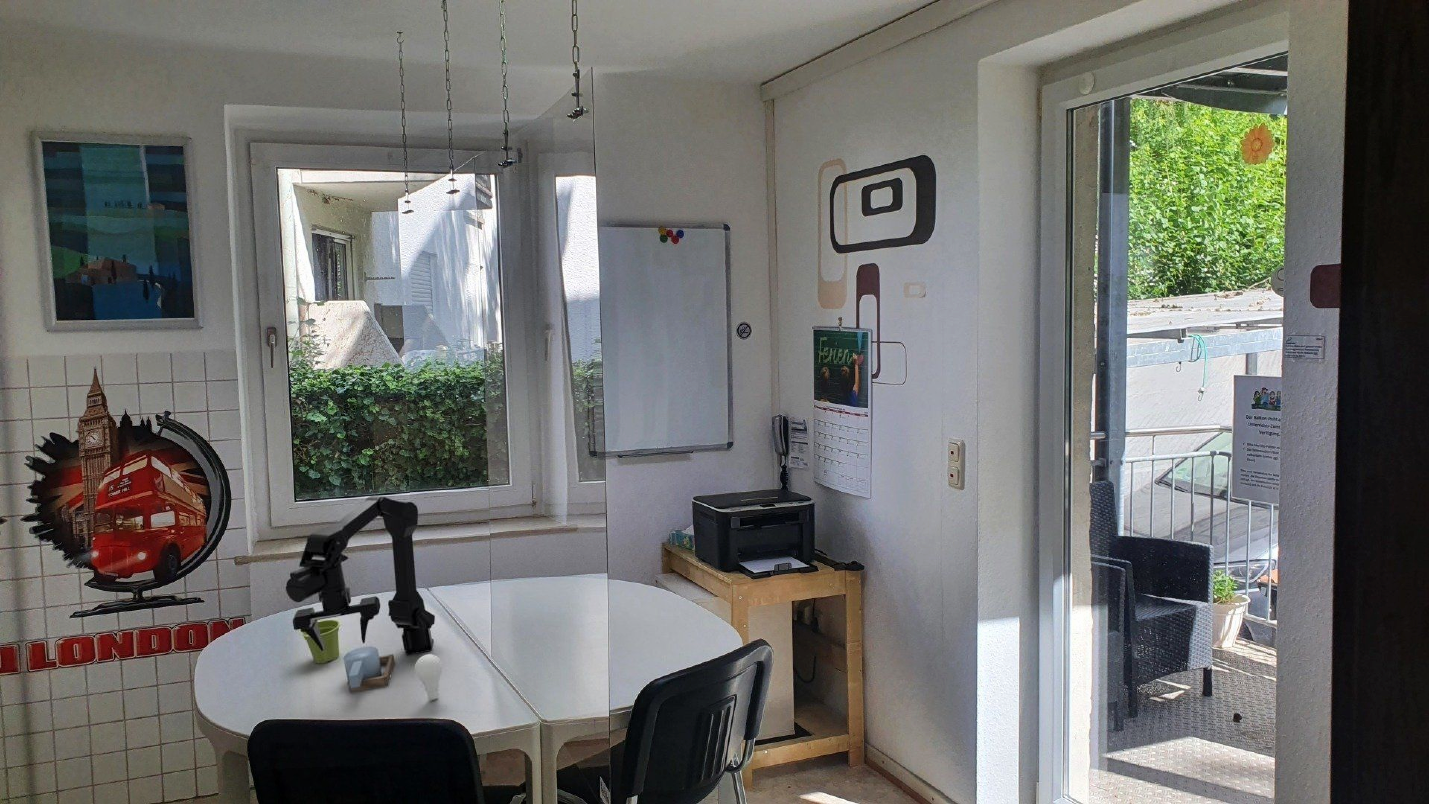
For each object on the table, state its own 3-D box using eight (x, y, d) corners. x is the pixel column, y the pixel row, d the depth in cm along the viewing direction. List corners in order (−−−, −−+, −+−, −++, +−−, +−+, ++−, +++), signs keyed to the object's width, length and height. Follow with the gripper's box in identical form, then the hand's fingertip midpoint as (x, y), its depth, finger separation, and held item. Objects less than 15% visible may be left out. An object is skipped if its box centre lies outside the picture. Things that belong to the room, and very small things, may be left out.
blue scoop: (351, 673, 241) (346, 649, 240) (384, 667, 242) (379, 644, 241) (340, 704, 226) (335, 678, 225) (375, 697, 227) (370, 672, 226)
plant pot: (332, 667, 246) (326, 635, 244) (299, 667, 248) (293, 635, 246) (352, 649, 255) (347, 619, 253) (321, 649, 257) (315, 619, 255)
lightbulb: (423, 694, 226) (415, 651, 224) (449, 691, 227) (442, 648, 225) (417, 707, 220) (410, 663, 218) (444, 704, 221) (437, 660, 219)
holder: (394, 661, 245) (393, 653, 245) (388, 685, 233) (386, 676, 232) (358, 668, 243) (357, 660, 243) (350, 692, 231) (348, 683, 231)
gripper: (376, 565, 234) (387, 625, 237) (295, 579, 230) (307, 640, 233) (372, 581, 224) (383, 644, 227) (286, 596, 220) (299, 660, 223)
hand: (343, 646), depth 228 cm, fingers open, 9 cm apart
